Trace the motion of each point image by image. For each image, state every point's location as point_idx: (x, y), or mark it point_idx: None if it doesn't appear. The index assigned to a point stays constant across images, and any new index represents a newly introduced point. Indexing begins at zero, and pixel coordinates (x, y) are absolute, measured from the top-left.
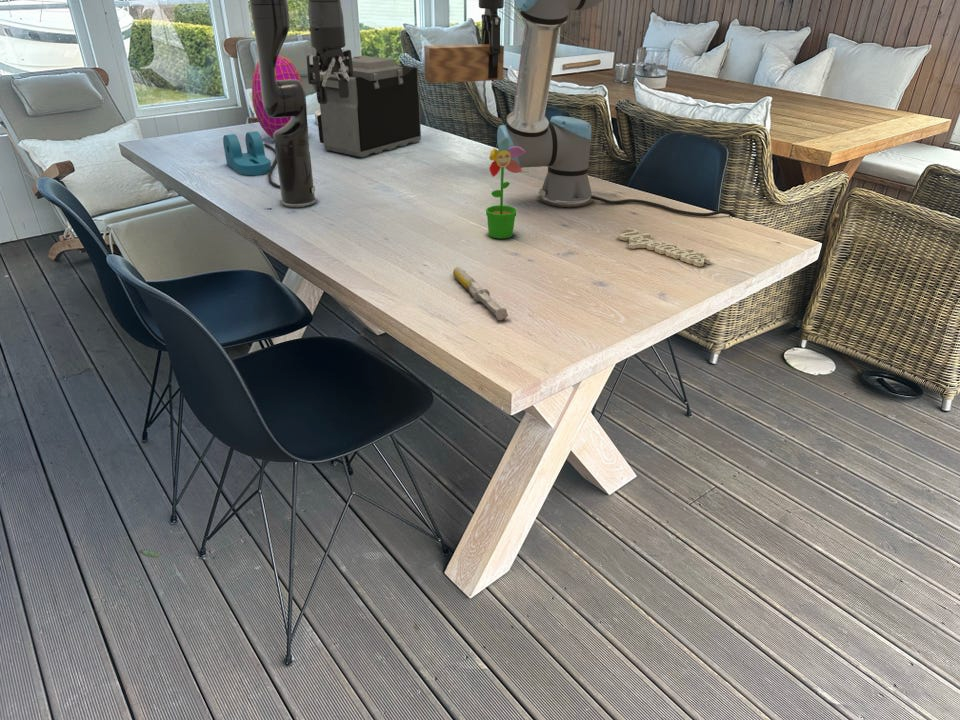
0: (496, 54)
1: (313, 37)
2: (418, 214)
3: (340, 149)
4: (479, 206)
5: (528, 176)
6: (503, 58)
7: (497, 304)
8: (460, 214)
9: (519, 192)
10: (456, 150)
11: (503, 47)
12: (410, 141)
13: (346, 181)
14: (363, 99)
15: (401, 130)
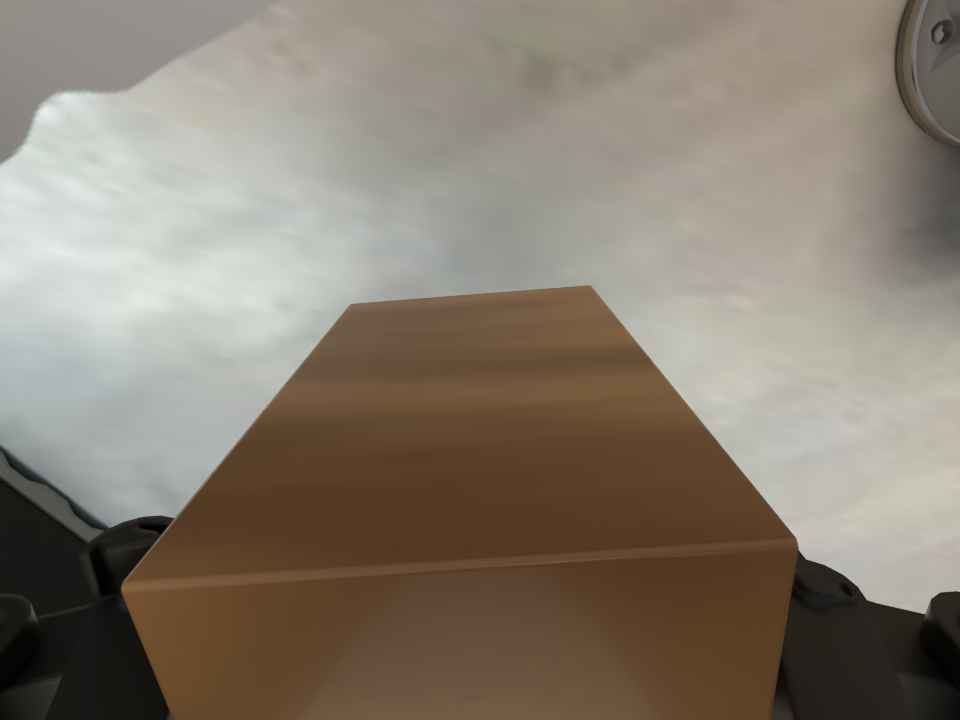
0: (887, 626)
1: None
2: (887, 559)
3: None
4: (906, 386)
5: (613, 80)
6: (672, 386)
7: None
8: (949, 457)
9: (822, 200)
10: (113, 299)
11: (777, 525)
12: (15, 473)
13: None
14: None
15: (20, 544)
